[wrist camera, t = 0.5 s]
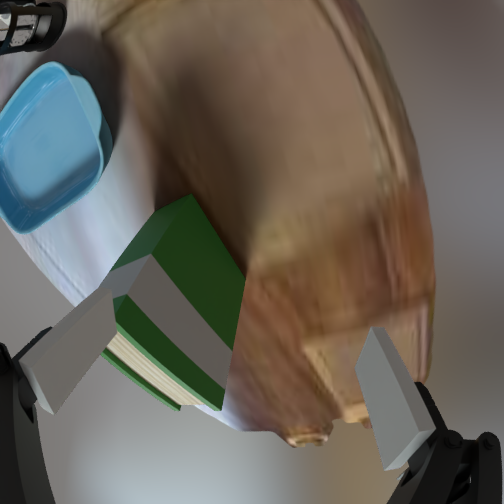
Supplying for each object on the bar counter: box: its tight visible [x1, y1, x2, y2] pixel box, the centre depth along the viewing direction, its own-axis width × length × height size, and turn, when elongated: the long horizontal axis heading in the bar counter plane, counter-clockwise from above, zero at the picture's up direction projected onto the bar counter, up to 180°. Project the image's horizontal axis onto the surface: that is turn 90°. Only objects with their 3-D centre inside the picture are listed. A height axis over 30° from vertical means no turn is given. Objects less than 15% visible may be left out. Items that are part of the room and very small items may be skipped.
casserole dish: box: [0, 61, 113, 234], centre depth 33 cm, size 37×22×7 cm, turn 112°
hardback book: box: [98, 193, 246, 411], centre depth 36 cm, size 18×7×24 cm, turn 26°
